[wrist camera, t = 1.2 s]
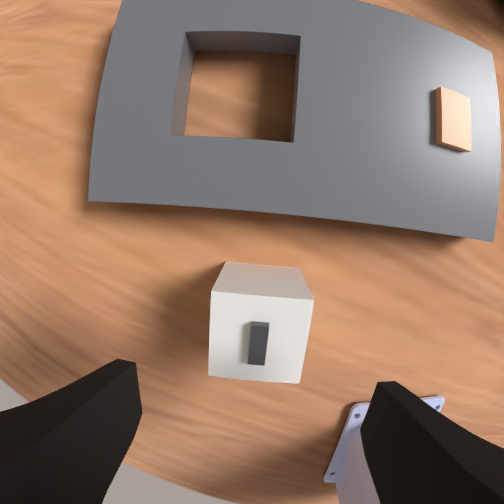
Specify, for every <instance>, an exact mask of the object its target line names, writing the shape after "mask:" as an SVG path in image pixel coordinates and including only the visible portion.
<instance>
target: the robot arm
mask: <svg viewBox="0 0 504 504" xmlns="http://www.w3.org/2000/svg"><path fill="white" fill-rule="evenodd" d="M444 402H445V398H444V397H443V396H442V395H439V396H432V397H424V398H419V397H417V396H416V395H415V394H413V393H412V392H410V391H409V390H408V389H406V388H405V387H403V386H402V385H400V384H399V383H397V382H395V381H390V382H377V385H376V388H375V391H374V394H373V397H372V399H371V402H364V403H356V404H354V405H353V406H352V408H351V410H350V413H349V416H348V418H347V421H346V424H345V427H344V429H343V432H342V435H341V437H340V440H339V442H338V445H337V447H336V450H335V452H334V455H333V457H332V460H331V462H330V464H329V467H328V469H327V471H326V474H325V476H324V482H326V483H335V484H336V489H337V494H338V499H339V504H504V448H501V447H499V446H497V445H494V444H492V443H490V442H488V441H486V440H484V439H482V438H480V437H478V436H476V435H474V434H472V433H471V432H469V431H467V430H466V429H464V428H462V427H461V426H459V425H458V424H456V423H454V422H453V421H451V420H450V419H448V418H447V417H445V416H444V415H442V414H441V413H440V410H441V408H442V406H443V404H444ZM355 414H357V415H355ZM141 415H142V406H141V400H140V393H139V385H138V377H137V369H136V363H135V362H130V361H126V360H121V359H116V360H114V361H112V362H110V363H108V364H106V365H104V366H103V367H101V368H99V369H97V370H95V371H93V372H92V373H90V374H88V375H86V376H84V377H82V378H81V379H79V380H77V381H75V382H73V383H71V384H69V385H67V386H65V387H63V388H61V389H59V390H57V391H55V392H53V393H50V394H48V395H46V396H44V397H42V398H39V399H37V400H35V401H32V402H29V403H27V404H24V405H21V406H18V407H15V408H12V409H9V410H5V411H1V412H0V504H102V502H103V499H104V497H105V495H106V492H107V490H108V488H109V486H110V484H111V482H112V480H113V478H114V476H115V474H116V472H117V470H118V468H119V466H120V464H121V463H122V461H123V459H124V457H125V455H126V453H127V451H128V449H129V447H130V445H131V443H132V441H133V439H134V436H135V433H136V430H137V428H138V425H139V422H140V419H141Z"/></svg>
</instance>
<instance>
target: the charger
mask: <svg viewBox="0 0 504 504" xmlns="http://www.w3.org/2000/svg"><path fill="white" fill-rule="evenodd" d="M313 305H314V298H313V296H312V294H311V292H310V289H309V287H308V285H307V283H306V280H305V278H304V276H303V274H302V272H301V269H300V268H294V267H283V266H271V265H260V264H249V263H238V262H228V261H226V262H225V264H224V266H223V268H222V270H221V272H220V274H219V276H218V278H217V280H216V282H215V284H214V286H213V288H212V290H211V307H210V332H209V365H208V376H214V377H223V378H232V379H242V380H253V381H265V382H281V383H299V382H300V377H301V372H302V367H303V362H304V357H305V351H306V346H307V340H308V335H309V329H310V323H311V317H312V311H313Z"/></svg>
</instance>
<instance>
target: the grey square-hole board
mask: <svg viewBox="0 0 504 504" xmlns="http://www.w3.org/2000/svg"><path fill="white" fill-rule="evenodd" d="M195 51H245V52H262V53H275V54H285V55H294V56H296V61H295V77H294V92H293V106H292V119H291V132H290V142H280V141H270V140H258V139H245V138H229V137H208V136H184V130H185V121H186V113H187V104H188V97H189V89H190V82H191V75H192V68H193V62H194V55H195ZM500 169H501V132H500V112H499V100H498V90H497V82H496V75H495V68H494V62H493V56H492V52H490V51H488V50H486V49H484V48H483V47H481V46H479V45H477V44H475V43H473V42H471V41H469V40H467V39H465V38H463V37H461V36H459V35H456V34H454V33H452V32H450V31H447V30H445V29H443V28H440V27H438V26H436V25H433V24H431V23H428V22H426V21H423V20H420V19H418V18H415V17H412V16H409V15H406V14H403V13H400V12H397V11H394V10H391V9H387V8H384V7H381V6H377V5H373V4H370V3H366V2H362V1H357V0H122V3H121V6H120V9H119V13H118V16H117V19H116V23H115V26H114V30H113V33H112V37H111V41H110V45H109V49H108V53H107V57H106V62H105V66H104V71H103V76H102V81H101V86H100V91H99V97H98V103H97V109H96V116H95V123H94V131H93V140H92V149H91V160H90V173H89V190H88V201H97V202H122V203H143V204H161V205H178V206H193V207H207V208H220V209H233V210H245V211H257V212H268V213H278V214H288V215H298V216H308V217H317V218H326V219H335V220H344V221H352V222H360V223H368V224H376V225H384V226H391V227H399V228H406V229H413V230H420V231H427V232H433V233H440V234H446V235H453V236H459V237H465V238H471V239H477V240H483V241H489V242H493V241H494V235H495V228H496V220H497V211H498V201H499V189H500Z"/></svg>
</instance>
